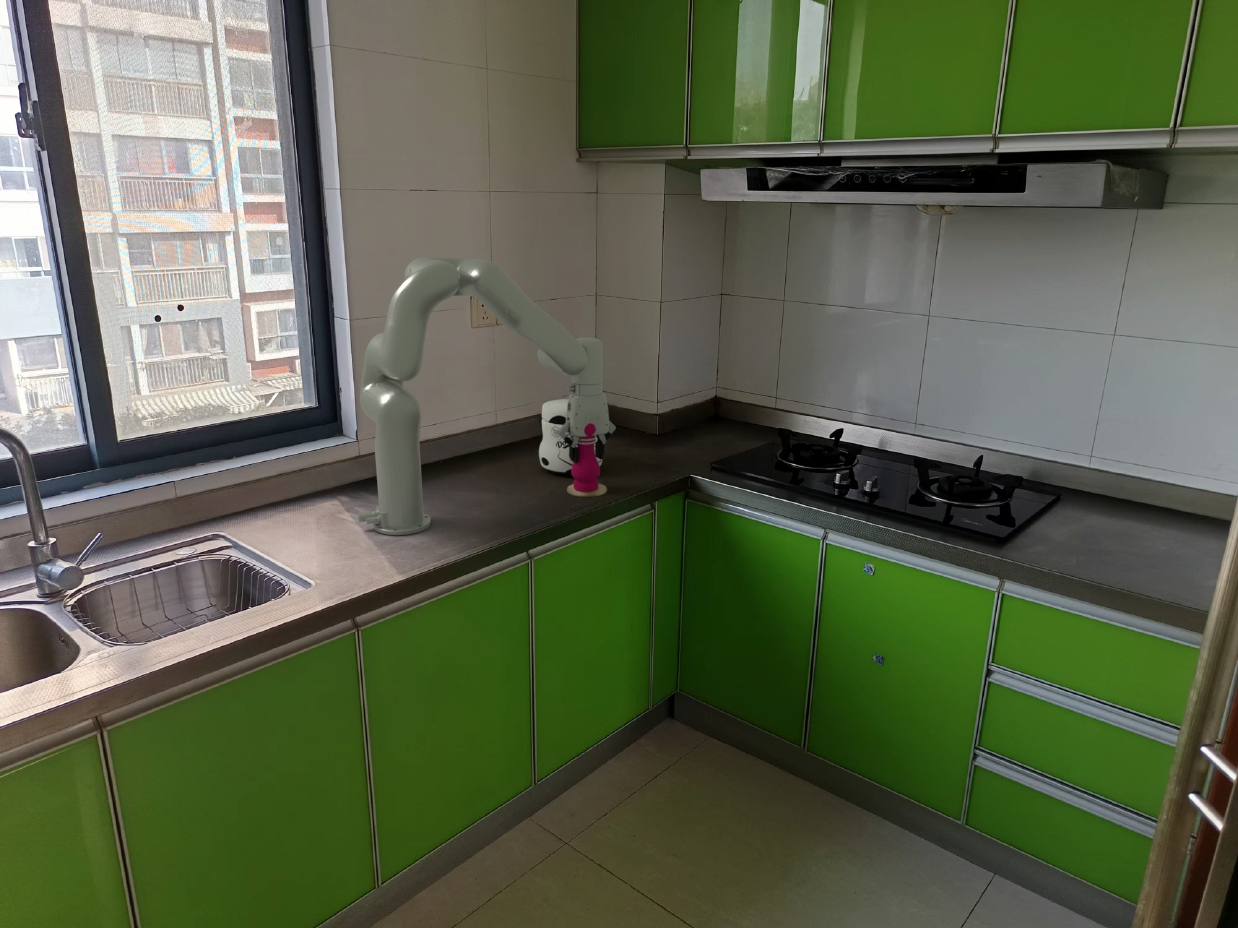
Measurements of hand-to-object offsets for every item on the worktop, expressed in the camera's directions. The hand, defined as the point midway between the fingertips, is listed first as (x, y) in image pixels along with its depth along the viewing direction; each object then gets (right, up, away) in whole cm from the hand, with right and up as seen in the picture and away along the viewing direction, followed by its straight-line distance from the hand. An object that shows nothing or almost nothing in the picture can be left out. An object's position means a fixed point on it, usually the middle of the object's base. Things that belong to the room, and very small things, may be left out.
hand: (586, 459), depth 222 cm
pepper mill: (0, -8, +2) cm, 8 cm away
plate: (0, -8, +3) cm, 8 cm away
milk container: (-5, -3, +20) cm, 20 cm away
